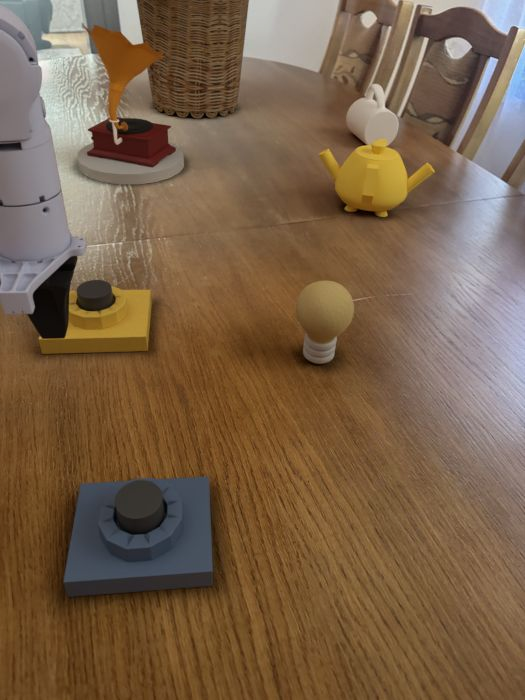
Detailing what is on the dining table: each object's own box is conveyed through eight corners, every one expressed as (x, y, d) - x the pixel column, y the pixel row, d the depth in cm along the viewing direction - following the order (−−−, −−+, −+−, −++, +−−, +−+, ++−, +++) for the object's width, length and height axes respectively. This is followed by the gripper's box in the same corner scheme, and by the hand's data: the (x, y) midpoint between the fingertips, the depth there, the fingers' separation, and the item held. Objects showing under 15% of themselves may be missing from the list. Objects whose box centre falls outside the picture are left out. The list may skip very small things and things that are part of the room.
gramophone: (154, 192, 101) (142, 35, 85) (56, 173, 105) (27, 20, 90) (200, 155, 116) (198, 16, 100) (113, 140, 121) (97, 5, 105)
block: (67, 597, 43) (58, 569, 40) (84, 498, 50) (77, 469, 47) (213, 586, 44) (212, 558, 41) (209, 491, 51) (208, 462, 48)
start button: (115, 536, 43) (112, 520, 42) (119, 496, 46) (117, 481, 44) (163, 532, 43) (161, 517, 42) (164, 494, 46) (163, 478, 45)
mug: (361, 150, 123) (370, 92, 116) (343, 135, 131) (350, 79, 123) (395, 148, 125) (406, 91, 118) (375, 133, 133) (385, 78, 125)
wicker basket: (141, 84, 157) (129, -64, 136) (266, 92, 157) (273, -54, 136) (109, 123, 129) (89, -54, 108) (261, 132, 129) (269, -43, 108)
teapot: (426, 195, 106) (441, 134, 99) (421, 236, 92) (438, 170, 85) (322, 178, 109) (329, 119, 102) (303, 216, 96) (309, 151, 89)
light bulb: (282, 345, 68) (289, 274, 62) (330, 336, 70) (341, 266, 64) (304, 379, 63) (313, 306, 57) (354, 368, 65) (368, 296, 59)
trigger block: (41, 354, 64) (34, 326, 62) (57, 305, 72) (51, 278, 70) (147, 351, 66) (145, 323, 63) (151, 303, 74) (149, 277, 71)
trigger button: (76, 313, 65) (73, 298, 64) (81, 294, 68) (78, 279, 67) (111, 312, 65) (109, 297, 64) (115, 293, 69) (113, 279, 67)
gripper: (60, 235, 37) (89, 386, 46) (88, 156, 48) (108, 289, 57) (-53, 236, 36) (-1, 389, 45) (3, 155, 48) (36, 290, 56)
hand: (54, 334), depth 51 cm, fingers closed
